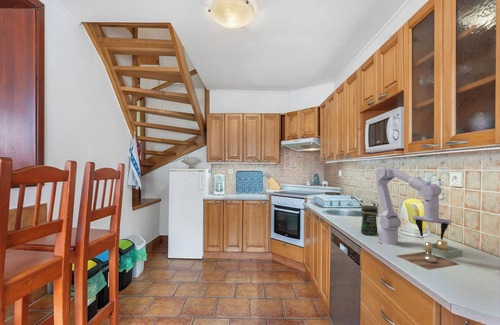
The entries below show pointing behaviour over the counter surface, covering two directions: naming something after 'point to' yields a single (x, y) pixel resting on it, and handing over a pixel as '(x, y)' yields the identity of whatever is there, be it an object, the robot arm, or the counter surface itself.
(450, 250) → the tray
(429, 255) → the crank
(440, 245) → the pin
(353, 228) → the counter surface
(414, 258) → the crank base
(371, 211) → the coffee jar
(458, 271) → the counter surface
